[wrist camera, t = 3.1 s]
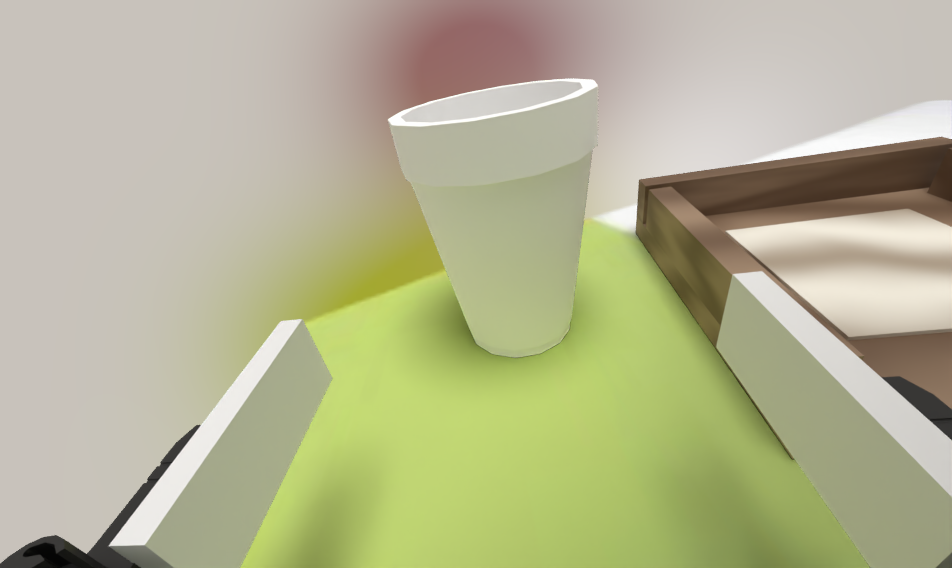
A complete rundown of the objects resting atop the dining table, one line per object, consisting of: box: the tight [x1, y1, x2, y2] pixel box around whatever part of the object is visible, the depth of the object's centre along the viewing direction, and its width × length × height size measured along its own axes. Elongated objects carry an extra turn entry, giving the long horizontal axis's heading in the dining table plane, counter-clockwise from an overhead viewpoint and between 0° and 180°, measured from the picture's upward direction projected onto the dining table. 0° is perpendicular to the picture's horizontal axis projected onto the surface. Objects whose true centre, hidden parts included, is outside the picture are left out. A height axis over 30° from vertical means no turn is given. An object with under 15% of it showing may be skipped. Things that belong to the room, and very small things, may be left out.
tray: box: [636, 137, 952, 459], centre depth 21 cm, size 20×20×4 cm
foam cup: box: [388, 79, 598, 358], centre depth 21 cm, size 10×9×13 cm
